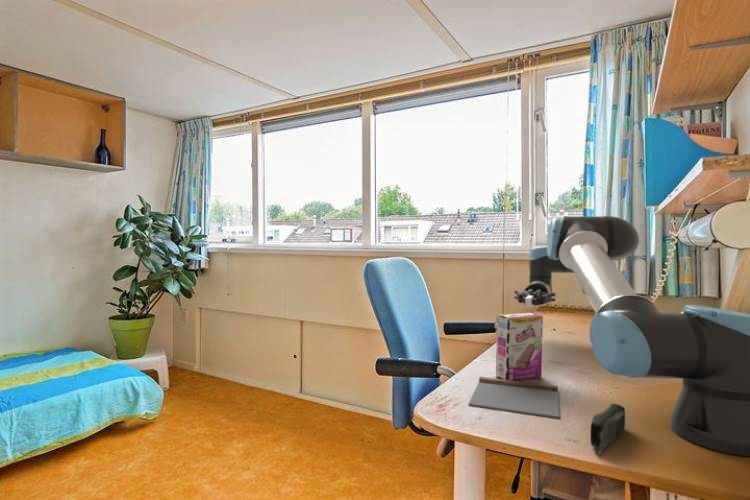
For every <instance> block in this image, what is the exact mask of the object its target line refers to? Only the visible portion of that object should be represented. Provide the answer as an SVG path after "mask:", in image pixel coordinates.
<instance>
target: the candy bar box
mask: <svg viewBox="0 0 750 500" xmlns="http://www.w3.org/2000/svg"><path fill="white" fill-rule="evenodd" d="M496 316H497V317H496V357H495V359H496V360H495V361H496V362H495V377H496V378H497V379H505V380H513V381H526V380H531V379H533V380H534V379H538V378H542V365H543V364H542V362H543V361H542V356H543V323H544V322H543V321H544V319H543V318H544V317H543V315H541V314H537V313H534V312H533V313H532V312H523V313H522V312H521V313H508V314H507V313H505V314H497V315H496Z"/></svg>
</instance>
